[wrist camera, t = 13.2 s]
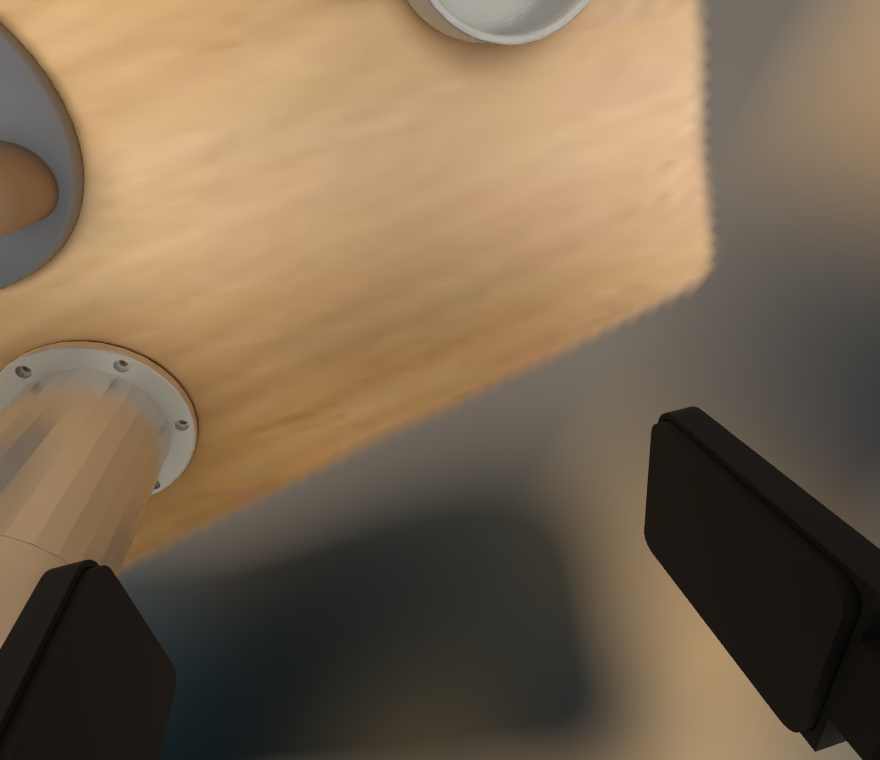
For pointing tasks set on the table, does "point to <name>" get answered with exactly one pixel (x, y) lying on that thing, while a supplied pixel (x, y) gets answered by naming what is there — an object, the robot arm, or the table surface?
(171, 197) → the table surface
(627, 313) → the table surface
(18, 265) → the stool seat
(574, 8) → the teacup
